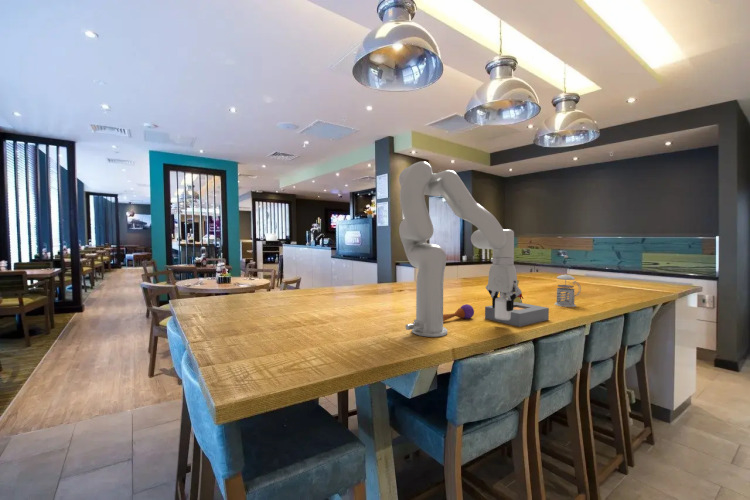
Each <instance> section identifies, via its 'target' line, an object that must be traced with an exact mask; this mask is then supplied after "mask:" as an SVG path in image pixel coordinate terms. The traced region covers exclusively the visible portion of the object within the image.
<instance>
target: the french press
mask: <svg viewBox="0 0 750 500" xmlns="http://www.w3.org/2000/svg"><path fill="white" fill-rule="evenodd" d="M563 257H564V259H569V256H568V255H564V256H563ZM556 279H558V280H565V282H564V283H565V284H558V285H557V288H556V302H554V305H555V306H559V307H566V308H574V307H577V305H576V304H575V297H577V296H578V295H580V294H581V291H582V287H581V285H580V283H579V282H578V281H574V280H575V279H576V278H575V277H574V276H572V275H570V274H567V273H565V274H561V275H558V276H556ZM570 280H573V281H572V284H573V285H570V284H567V281H570ZM575 284H576V285H577V287H578V288H579V291H578V292H577V294H575V288H574V285H575Z"/></svg>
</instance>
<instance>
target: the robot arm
mask: <svg viewBox="0 0 750 500" xmlns="http://www.w3.org/2000/svg"><path fill="white" fill-rule="evenodd" d="M398 183H399V184H400V186H401V187H400V191H399V192H400V193H399V204H400V208H401V211H402V214H403V218H404V219H402V221H401V222H400V224H399V227H398V233H399V238H400V240H401V243H402V247H403V250H404V254H405V256H406V258H407V260H408V262H409V264H410V265H411V266H412V267H414V268H416V269H418V270H417V275H416V283H415V285H416V290H415V291H416V292H415V293H416V298H415V300H416V301H415V302H416V304H415V306H416V307H415V309H416V314H415V315H416V316H415V319H414V320H413V321H412V323H407V324H405V326H404V327H405V330H407V331H411V333H413V334H415V335H416V336H420V337H427V338H436V337H437V338H438V337H444V336H446V335H448V329H447V328H446V327H444V321H443V315H444V279H445V278H444V277H445V269H446V264H447V254H446V252H445V250H444V249H443V247H441V246H440V245H438V244H434V243H428V242H427V241H429V240H430V239H432V237H433V236H434V232H435V231H434V230H435V229H434V226H433V222H432V219H431V215H430V214H429V209H428V206H427V203H426V198H425V195H426V196H431V197H440V196H442V198H443V199H444V201H446V203H447V205H448V206H449V208H450V209H451V211H452V212H453V214H454V215H455V216H456V217H457V218H459V219H460V220H464V221H466V222H468V223H470V224H472V225H473V226H475V227H476V228H477V230H475V231H473V233H472V234H471V236H470V241H471V244H472V245H473V247H474V248H477V249H481V250H492V258H490V262H491V263H492V264H490V267H489V271H488V280H487V284H486V286H485V289H486V290H487V292H488V293H489V295H490V298H491V299H492V300H491V301H492V302H491V303H492V305H491V306H492V308H495V299H496V298H498V297H499V295H500V292H502V293H506V294H507V298H508V300H507V306H506V310H507V311H512V310H513V308H514V300H515V298H517V297H518V295H520V294H521V293H522V290H521V288H520V287H519V285H518V286H517V280H518V275H517V270H516V269H517V268H516V266H515V265H514V264H515V263H514V261H515V256H514V255H515V232H514V230H512V229H510V228H509V229H508V228H507V229H504V228H503V226H502V225H501V224H500V222H499V221H498V219H497V218H496V217H495V216H494V214H493V213H491V212H490V211H488V210H487V209H486V208H485V207H484V206H482V205H481V204H480V203H478V202H477V201H476V200H475V198H474V197H473V196H472V193H470V191H469V189H468V188H467V187H466V185H465V183H464V182H463V181H462V179H461V177H460V176H459V175H458V174H457V172H456V171H454V170H451V169H446V170H442V171H440V172H437V173H433V168H432V166H431V164H430V163H428V162H427V161H417V162H415V163H413V164H411V165H410V166H409V165H408V166H407V167H405V168H404V169H403V170H401V172H400V173H399V176H398ZM514 292H515V293H514ZM522 294H523V293H522Z"/></svg>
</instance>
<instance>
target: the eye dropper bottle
mask: <svg viewBox="0 0 750 500" xmlns="http://www.w3.org/2000/svg"><path fill="white" fill-rule="evenodd" d="M507 300H508V298H506V293H502V292H499V296H498V298H496V299H495V318H496V319H499V320H510V319H511V311H507V310H506V306H507Z"/></svg>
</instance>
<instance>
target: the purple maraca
mask: <svg viewBox="0 0 750 500" xmlns="http://www.w3.org/2000/svg"><path fill="white" fill-rule="evenodd" d="M474 315H475V310H474V307H473V306H472V305H470V304H462V305H461V306H460V307H459V308H458V309H457V310H456V311H455V312H454V313H448V314H443V322H446V321H447V320H449V319H452V318H454V317H457V318H460V319H466V320H468V319H472V317H473V316H474Z"/></svg>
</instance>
